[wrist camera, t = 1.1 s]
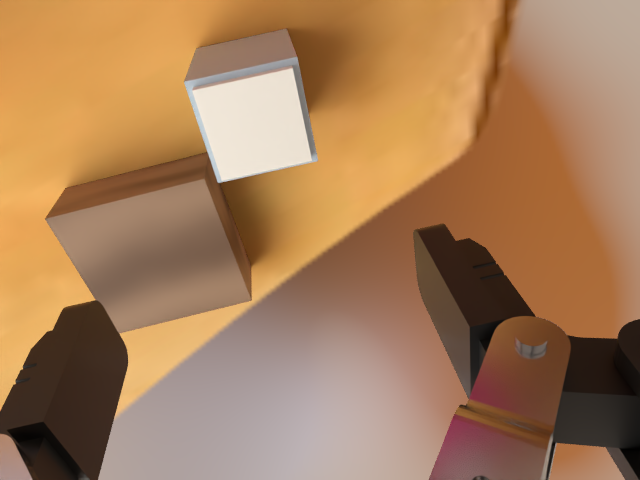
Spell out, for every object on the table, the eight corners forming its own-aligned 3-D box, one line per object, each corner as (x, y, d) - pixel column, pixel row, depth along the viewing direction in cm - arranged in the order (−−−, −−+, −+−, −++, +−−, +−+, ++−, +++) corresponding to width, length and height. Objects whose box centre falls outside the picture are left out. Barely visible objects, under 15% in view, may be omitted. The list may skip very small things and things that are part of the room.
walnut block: (67, 185, 30) (45, 218, 27) (208, 149, 30) (204, 178, 27) (129, 294, 35) (117, 333, 32) (251, 264, 35) (251, 300, 32)
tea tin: (196, 48, 27) (182, 85, 21) (286, 28, 27) (298, 59, 21) (222, 134, 30) (217, 188, 24) (304, 116, 30) (319, 165, 24)
